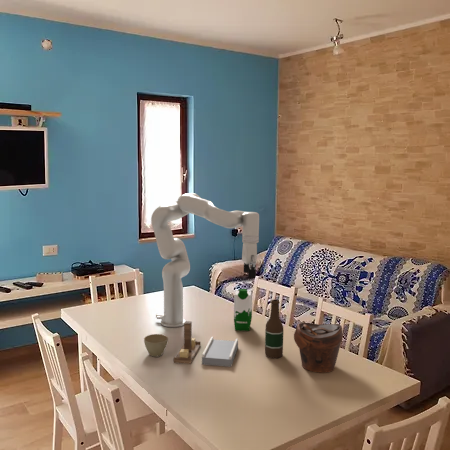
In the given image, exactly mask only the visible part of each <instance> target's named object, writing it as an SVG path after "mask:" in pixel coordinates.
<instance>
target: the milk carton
mask: <svg viewBox="0 0 450 450" xmlns="http://www.w3.org/2000/svg"><path fill="white" fill-rule="evenodd" d="M233 298H234V299H233V300H234V301H233V323H234V324H233V325H234V331H238V332H239V331H240V332H241V331H243V332H250V329H251V324H252V320H253V295H252V291H251V290H248V289H246V288H240V289H238V290H235V293H234V297H233Z"/></svg>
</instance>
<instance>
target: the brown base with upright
mask: <svg viewBox="0 0 450 450" xmlns="http://www.w3.org/2000/svg"><path fill="white" fill-rule="evenodd" d="M192 323H193V322H192V321H189V320H188V321H187V320H186V321H185V323H184V325H183V345H182V347H181V348H180V350H181V349H189V354H188V358H182V357H180V350H179V352H178V353H177V354H176V356H173V364H174V363H175V364H185V365H187V364H188V365H191V364H192V362H193V360H194V359H195V357H196V355H197V354H198V351H199V350H200V348H201V341H199V340H197V341H196V340H195V346H194V347H191V346H192V338H193V337H192V331H193V330H192V329H193V328H192Z"/></svg>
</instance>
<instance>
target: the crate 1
mask: <svg viewBox="0 0 450 450" xmlns="http://www.w3.org/2000/svg"><path fill="white" fill-rule="evenodd" d="M179 351H180V357H182V358H188V354H189V349H181V348H180V350H179Z"/></svg>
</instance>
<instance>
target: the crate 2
mask: <svg viewBox="0 0 450 450" xmlns="http://www.w3.org/2000/svg"><path fill="white" fill-rule="evenodd" d="M195 341H196V337H192V346H191V347H194V346H195Z"/></svg>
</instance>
